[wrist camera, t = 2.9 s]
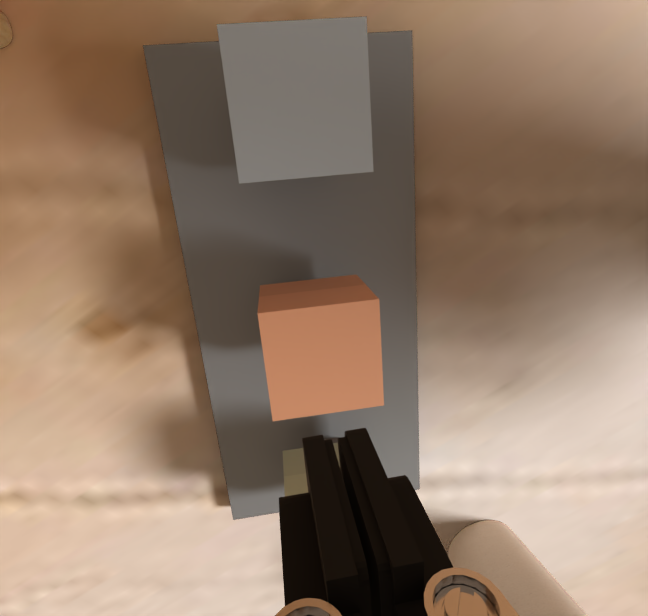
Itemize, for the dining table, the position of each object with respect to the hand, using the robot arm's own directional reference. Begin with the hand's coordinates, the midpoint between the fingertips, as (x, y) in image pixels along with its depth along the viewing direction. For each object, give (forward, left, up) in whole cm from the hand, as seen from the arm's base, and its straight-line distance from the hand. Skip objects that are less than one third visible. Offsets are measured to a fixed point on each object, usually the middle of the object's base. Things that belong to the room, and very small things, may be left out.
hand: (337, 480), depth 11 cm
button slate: (-1, -10, -12) cm, 16 cm away
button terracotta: (-1, 0, -12) cm, 12 cm away
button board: (-1, 0, -15) cm, 15 cm away
